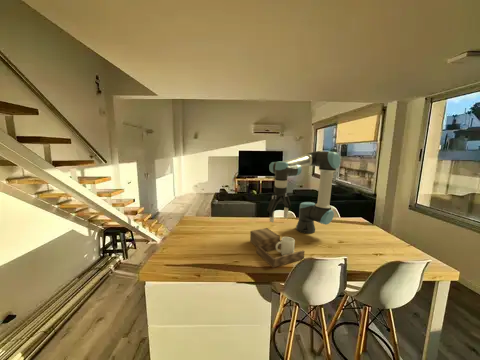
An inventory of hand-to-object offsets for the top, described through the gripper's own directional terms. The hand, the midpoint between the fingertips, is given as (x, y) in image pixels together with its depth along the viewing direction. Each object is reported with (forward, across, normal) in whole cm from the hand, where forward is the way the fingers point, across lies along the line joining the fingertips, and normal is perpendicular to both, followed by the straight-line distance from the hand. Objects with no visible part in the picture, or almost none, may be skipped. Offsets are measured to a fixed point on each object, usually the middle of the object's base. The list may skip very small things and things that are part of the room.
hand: (278, 219), depth 137 cm
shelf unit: (+22, 0, -4) cm, 23 cm away
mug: (+23, -2, +4) cm, 23 cm away
